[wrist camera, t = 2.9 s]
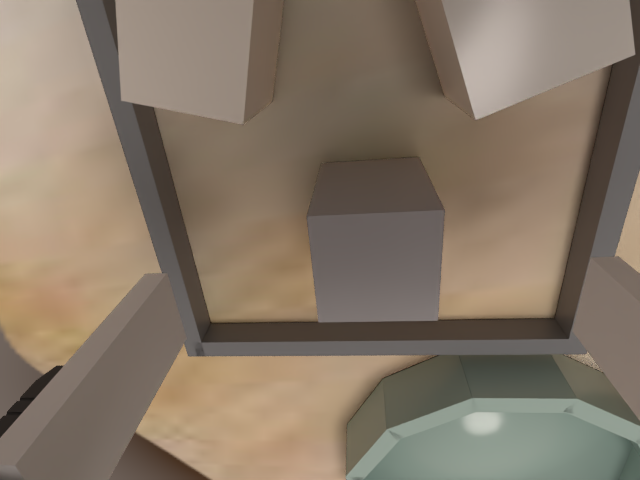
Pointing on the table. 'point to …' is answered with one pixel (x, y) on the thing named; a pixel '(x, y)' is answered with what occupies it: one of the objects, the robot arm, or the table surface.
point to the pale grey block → (520, 46)
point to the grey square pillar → (376, 241)
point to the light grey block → (199, 55)
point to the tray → (386, 336)
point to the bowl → (494, 423)
